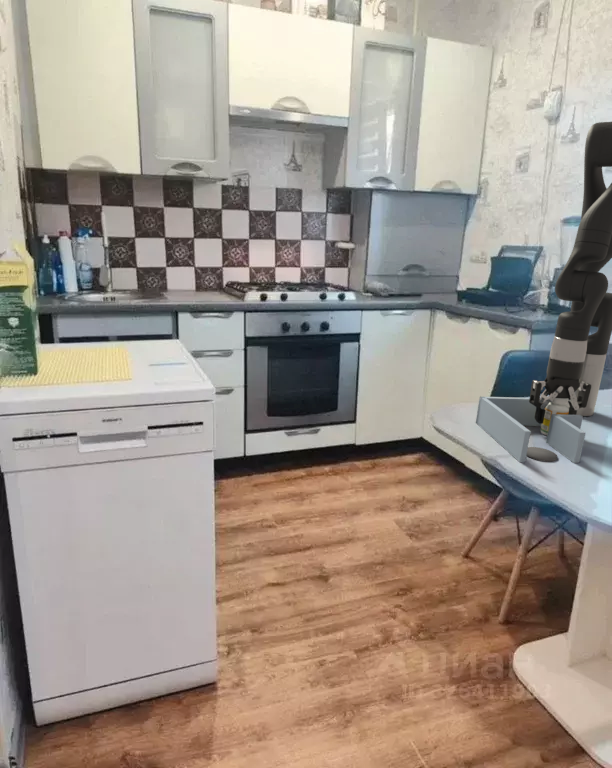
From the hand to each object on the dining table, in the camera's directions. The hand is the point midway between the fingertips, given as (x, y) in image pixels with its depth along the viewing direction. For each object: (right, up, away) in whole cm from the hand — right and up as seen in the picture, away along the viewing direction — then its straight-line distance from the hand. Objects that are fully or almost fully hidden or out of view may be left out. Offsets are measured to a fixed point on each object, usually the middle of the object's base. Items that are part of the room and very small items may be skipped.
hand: (553, 422), depth 132 cm
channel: (-7, -4, -5) cm, 9 cm away
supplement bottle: (0, -3, +1) cm, 3 cm away
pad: (-9, -6, -13) cm, 17 cm away
